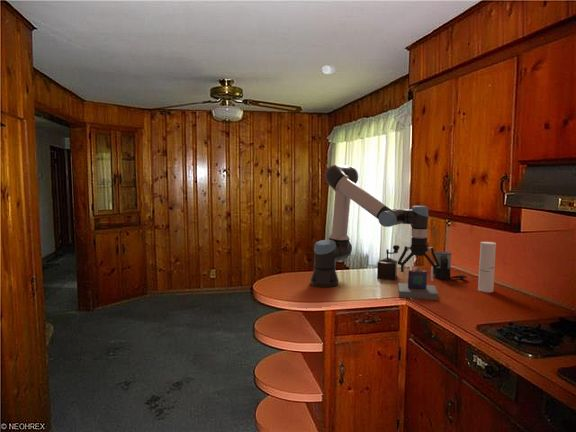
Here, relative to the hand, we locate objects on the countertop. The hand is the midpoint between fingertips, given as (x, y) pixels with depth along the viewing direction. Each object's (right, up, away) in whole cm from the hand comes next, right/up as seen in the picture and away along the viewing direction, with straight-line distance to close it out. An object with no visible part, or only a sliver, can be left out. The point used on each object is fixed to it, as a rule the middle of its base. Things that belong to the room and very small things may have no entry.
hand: (417, 279), depth 202 cm
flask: (0, -5, +1) cm, 5 cm away
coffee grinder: (-6, -4, +36) cm, 36 cm away
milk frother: (+28, -5, +31) cm, 42 cm away
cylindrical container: (+38, -7, +8) cm, 39 cm away
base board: (0, -8, +1) cm, 8 cm away
